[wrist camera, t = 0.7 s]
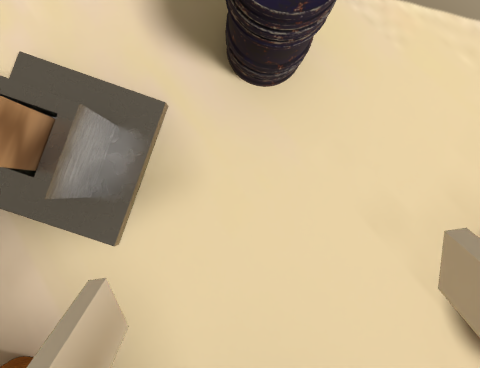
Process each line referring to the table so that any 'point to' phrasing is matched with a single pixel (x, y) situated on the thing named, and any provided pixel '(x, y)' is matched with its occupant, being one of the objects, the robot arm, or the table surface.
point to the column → (22, 135)
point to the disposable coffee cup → (18, 363)
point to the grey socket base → (81, 149)
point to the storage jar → (271, 36)
